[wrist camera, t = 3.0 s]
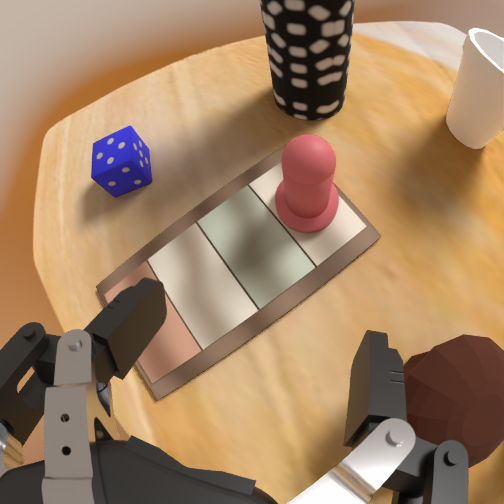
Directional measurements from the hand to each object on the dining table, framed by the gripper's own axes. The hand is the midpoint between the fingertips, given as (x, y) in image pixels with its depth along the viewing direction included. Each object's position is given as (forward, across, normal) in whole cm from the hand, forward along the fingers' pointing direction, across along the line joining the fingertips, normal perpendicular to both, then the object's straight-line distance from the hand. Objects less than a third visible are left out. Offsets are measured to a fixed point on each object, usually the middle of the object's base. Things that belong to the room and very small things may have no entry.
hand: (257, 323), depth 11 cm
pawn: (+18, 0, +2) cm, 18 cm away
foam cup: (+30, -18, -9) cm, 36 cm away
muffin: (+8, -15, +13) cm, 21 cm away
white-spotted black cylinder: (+29, +2, -8) cm, 30 cm away
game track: (+13, +6, +7) cm, 16 cm away
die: (+19, +20, +2) cm, 28 cm away
